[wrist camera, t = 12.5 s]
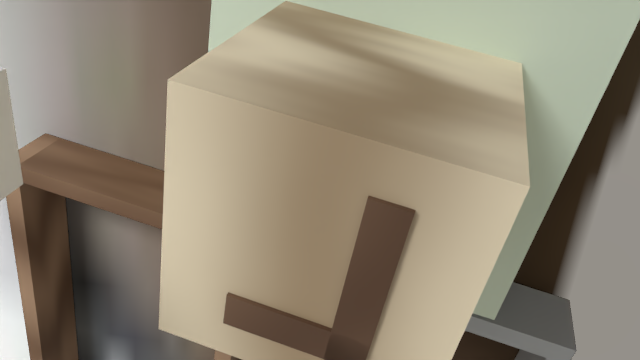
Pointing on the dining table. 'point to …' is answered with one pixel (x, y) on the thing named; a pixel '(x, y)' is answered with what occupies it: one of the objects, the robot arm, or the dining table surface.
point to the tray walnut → (52, 230)
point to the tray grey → (530, 325)
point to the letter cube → (336, 190)
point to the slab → (512, 44)
